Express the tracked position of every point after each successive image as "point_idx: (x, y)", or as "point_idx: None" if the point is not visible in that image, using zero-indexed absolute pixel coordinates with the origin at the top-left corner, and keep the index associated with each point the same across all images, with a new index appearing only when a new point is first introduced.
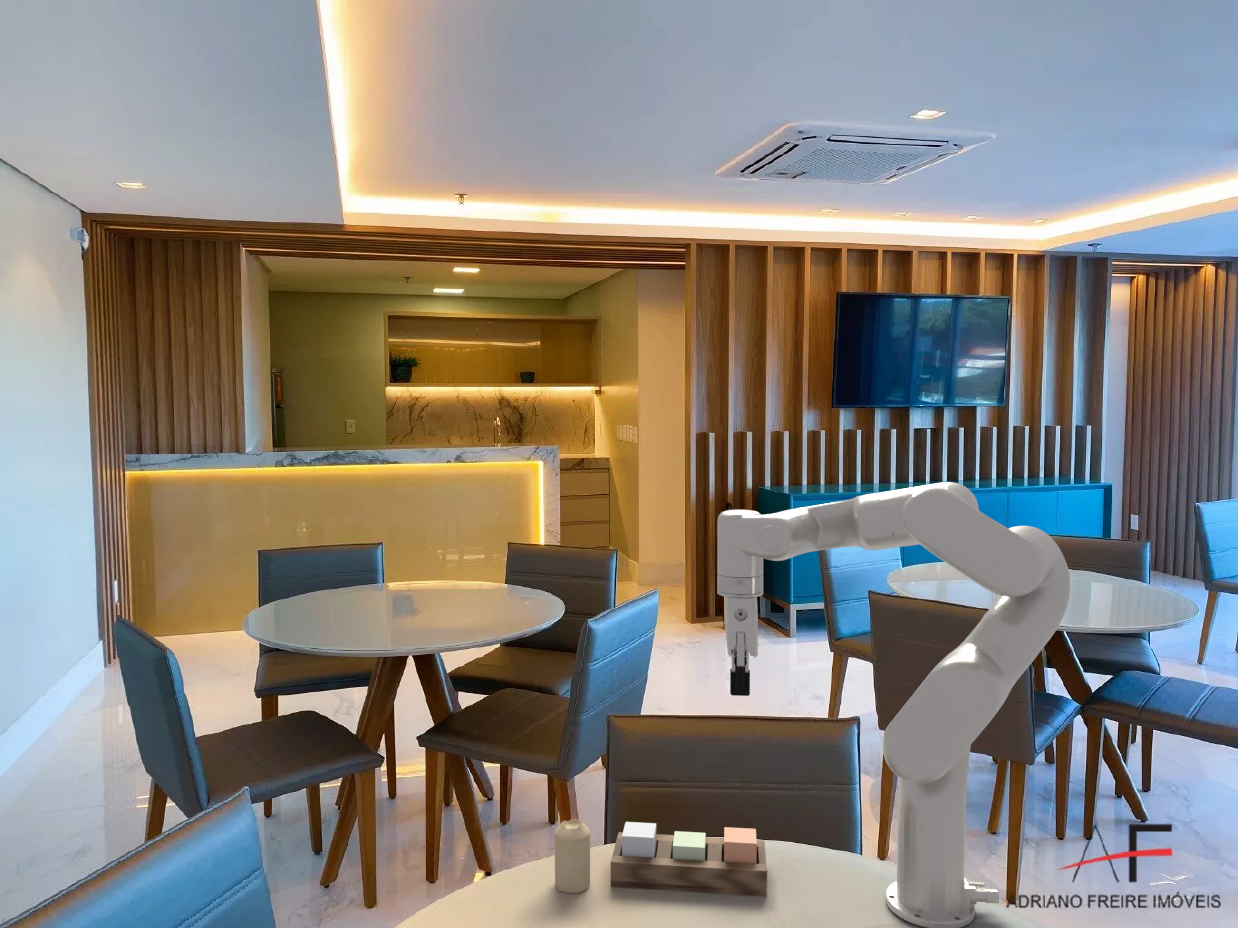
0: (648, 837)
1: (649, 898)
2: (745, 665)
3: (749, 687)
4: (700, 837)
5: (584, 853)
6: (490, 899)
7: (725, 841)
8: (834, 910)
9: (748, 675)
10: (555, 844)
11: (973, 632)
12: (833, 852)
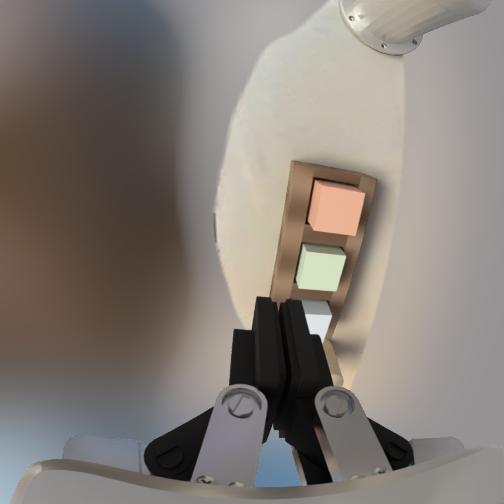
0: (330, 320)
1: (350, 290)
2: (396, 438)
3: (306, 321)
4: (318, 258)
5: (336, 364)
6: None
7: (354, 234)
8: (391, 109)
9: (316, 370)
10: None
11: None
12: (259, 66)
